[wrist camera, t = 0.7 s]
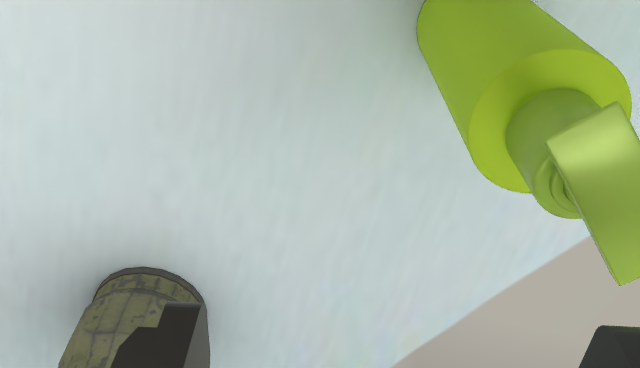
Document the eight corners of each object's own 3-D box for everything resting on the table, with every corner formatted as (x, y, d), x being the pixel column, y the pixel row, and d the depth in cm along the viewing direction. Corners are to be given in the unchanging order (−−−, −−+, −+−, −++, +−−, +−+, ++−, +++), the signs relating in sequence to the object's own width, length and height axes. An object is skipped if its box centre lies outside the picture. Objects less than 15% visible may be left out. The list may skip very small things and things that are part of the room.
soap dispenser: (486, -70, 29) (722, 60, 12) (537, 39, 32) (784, 268, 15) (388, -5, 30) (472, 190, 14) (445, 92, 34) (573, 352, 17)
